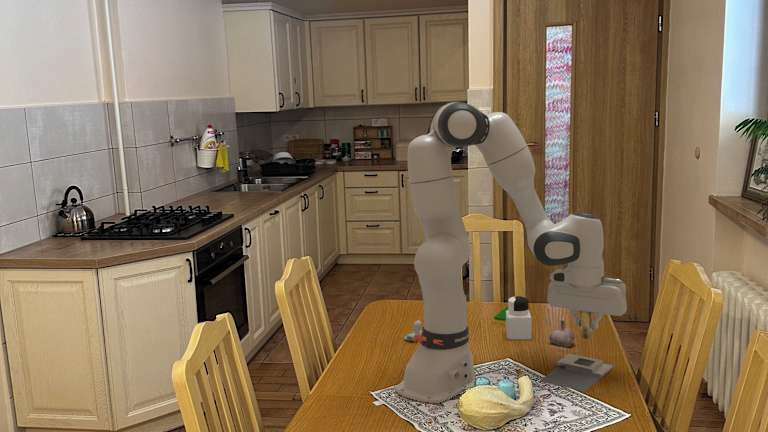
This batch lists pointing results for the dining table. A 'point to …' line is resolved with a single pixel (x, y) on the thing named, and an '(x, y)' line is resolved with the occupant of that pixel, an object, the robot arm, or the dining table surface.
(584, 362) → the frame
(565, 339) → the garlic bulb
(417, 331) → the pacifier
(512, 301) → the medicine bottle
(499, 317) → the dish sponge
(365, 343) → the dining table surface
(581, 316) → the brass pin
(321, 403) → the dining table surface
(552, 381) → the mat
